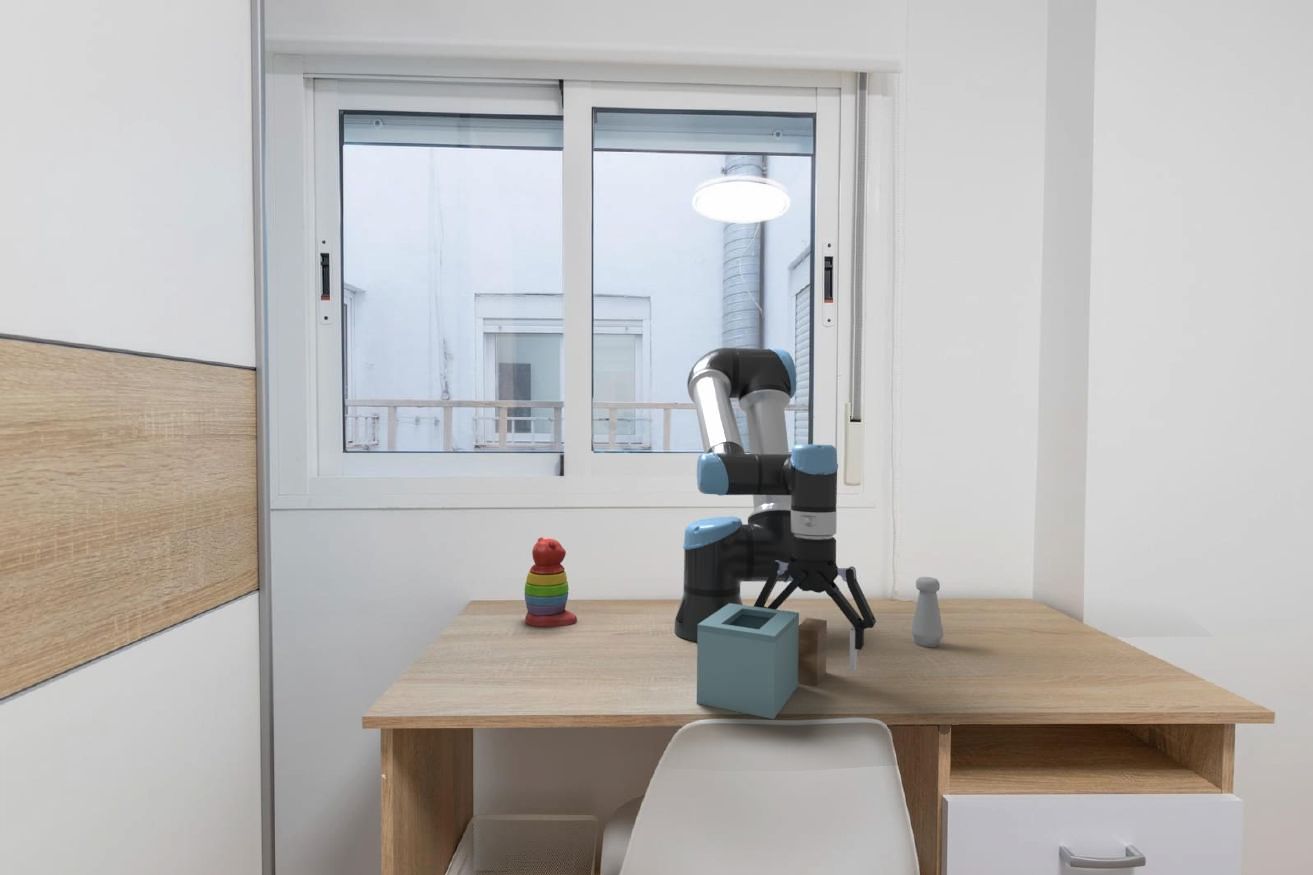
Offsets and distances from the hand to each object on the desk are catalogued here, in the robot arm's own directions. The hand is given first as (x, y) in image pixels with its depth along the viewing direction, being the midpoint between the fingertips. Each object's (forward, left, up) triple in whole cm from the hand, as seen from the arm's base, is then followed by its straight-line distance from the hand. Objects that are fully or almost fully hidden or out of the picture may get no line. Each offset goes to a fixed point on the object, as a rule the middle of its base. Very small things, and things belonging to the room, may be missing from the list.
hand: (811, 661), depth 111 cm
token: (0, 0, -3) cm, 3 cm away
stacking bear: (-58, +6, -3) cm, 59 cm away
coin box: (-7, -12, -3) cm, 14 cm away
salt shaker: (+16, +29, -3) cm, 33 cm away
